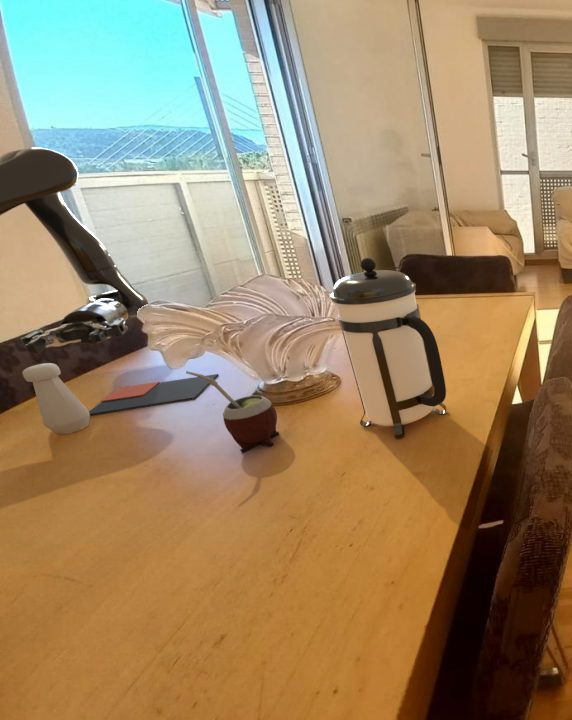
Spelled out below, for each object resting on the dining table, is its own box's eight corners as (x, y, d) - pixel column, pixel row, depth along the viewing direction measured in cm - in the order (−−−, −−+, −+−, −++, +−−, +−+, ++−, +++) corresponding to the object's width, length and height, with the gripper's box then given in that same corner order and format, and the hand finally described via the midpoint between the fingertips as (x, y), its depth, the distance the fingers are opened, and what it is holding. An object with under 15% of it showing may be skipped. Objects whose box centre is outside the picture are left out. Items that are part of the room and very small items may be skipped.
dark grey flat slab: (84, 416, 94) (83, 413, 93) (121, 389, 105) (120, 387, 105) (195, 399, 99) (194, 396, 99) (218, 375, 110) (217, 373, 110)
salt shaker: (42, 435, 87) (4, 371, 82) (81, 419, 92) (47, 358, 87) (64, 438, 86) (27, 373, 81) (102, 422, 91) (70, 360, 86)
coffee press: (347, 449, 79) (293, 272, 68) (373, 405, 94) (333, 253, 82) (454, 435, 82) (420, 263, 71) (463, 394, 97) (437, 246, 85)
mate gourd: (293, 436, 84) (266, 358, 78) (247, 460, 77) (213, 377, 71) (266, 428, 87) (237, 353, 81) (219, 452, 80) (184, 371, 74)
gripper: (40, 312, 101) (-1, 333, 88) (129, 300, 107) (103, 318, 94) (57, 344, 104) (21, 370, 91) (143, 331, 110) (120, 353, 97)
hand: (63, 344), depth 93 cm, fingers open, 8 cm apart
